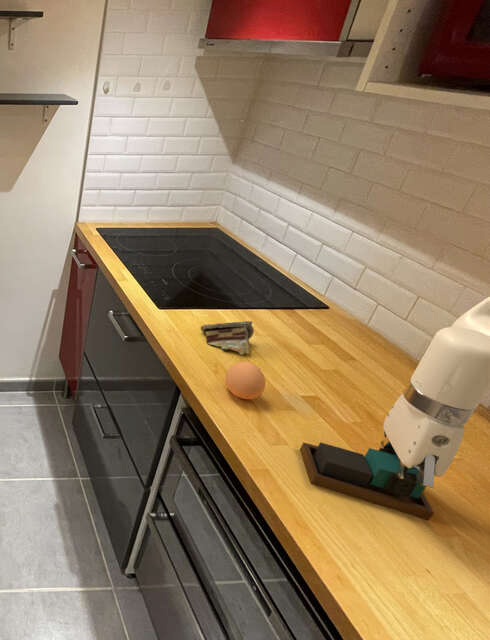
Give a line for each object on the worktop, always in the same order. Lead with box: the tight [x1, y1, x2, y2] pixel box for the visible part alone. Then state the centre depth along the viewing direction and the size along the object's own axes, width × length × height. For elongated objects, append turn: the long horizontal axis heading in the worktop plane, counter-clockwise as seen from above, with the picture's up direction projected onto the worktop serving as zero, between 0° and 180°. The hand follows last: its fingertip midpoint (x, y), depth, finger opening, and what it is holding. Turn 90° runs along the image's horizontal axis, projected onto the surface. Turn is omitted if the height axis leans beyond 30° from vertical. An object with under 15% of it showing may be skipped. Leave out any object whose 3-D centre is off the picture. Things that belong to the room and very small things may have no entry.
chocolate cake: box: [200, 320, 255, 356], centre depth 115 cm, size 10×7×12 cm
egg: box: [224, 360, 266, 400], centre depth 98 cm, size 7×7×8 cm
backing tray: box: [299, 442, 435, 521], centre depth 80 cm, size 16×8×2 cm, turn 66°
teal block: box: [364, 447, 427, 499], centre depth 77 cm, size 6×5×4 cm
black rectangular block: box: [313, 442, 373, 488], centre depth 80 cm, size 6×5×4 cm
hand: (389, 479), depth 78 cm, fingers closed on teal block, 4 cm apart
